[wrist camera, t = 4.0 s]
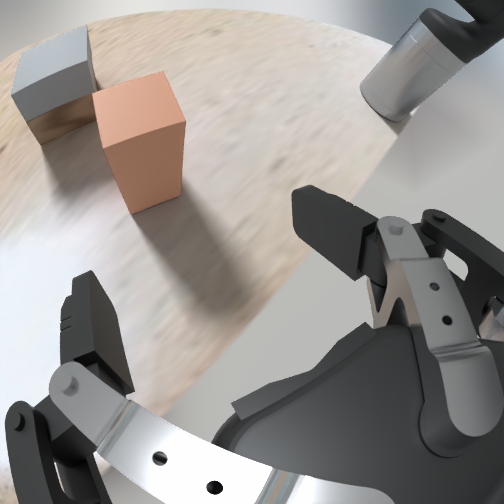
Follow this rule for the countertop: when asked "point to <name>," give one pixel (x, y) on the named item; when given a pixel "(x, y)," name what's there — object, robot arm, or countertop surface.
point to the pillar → (142, 139)
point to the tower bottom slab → (64, 118)
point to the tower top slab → (54, 74)
